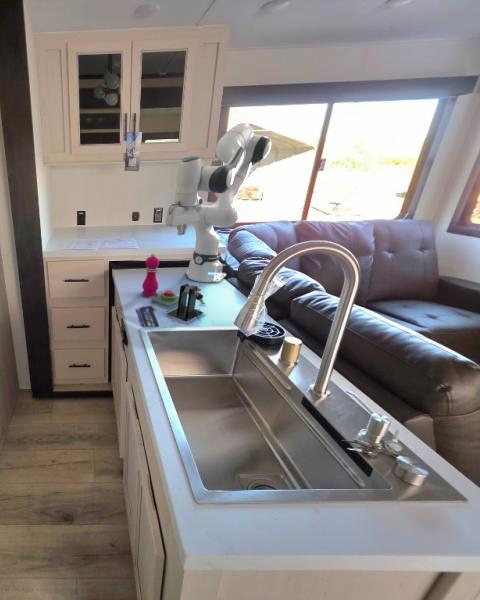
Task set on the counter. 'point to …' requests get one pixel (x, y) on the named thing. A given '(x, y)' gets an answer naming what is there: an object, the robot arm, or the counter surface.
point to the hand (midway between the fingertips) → (181, 234)
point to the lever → (199, 295)
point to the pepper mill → (151, 277)
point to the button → (168, 293)
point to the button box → (166, 300)
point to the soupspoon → (197, 291)
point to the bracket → (189, 310)
